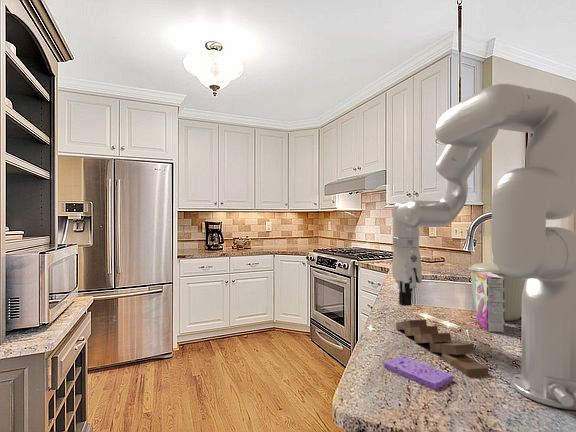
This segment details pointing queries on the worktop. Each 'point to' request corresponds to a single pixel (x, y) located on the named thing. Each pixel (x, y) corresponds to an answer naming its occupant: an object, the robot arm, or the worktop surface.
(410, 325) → the tile
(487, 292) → the candy bar box
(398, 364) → the sponges
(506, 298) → the canister
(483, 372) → the tile
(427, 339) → the tile
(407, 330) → the tile
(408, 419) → the worktop surface
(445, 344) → the tile
